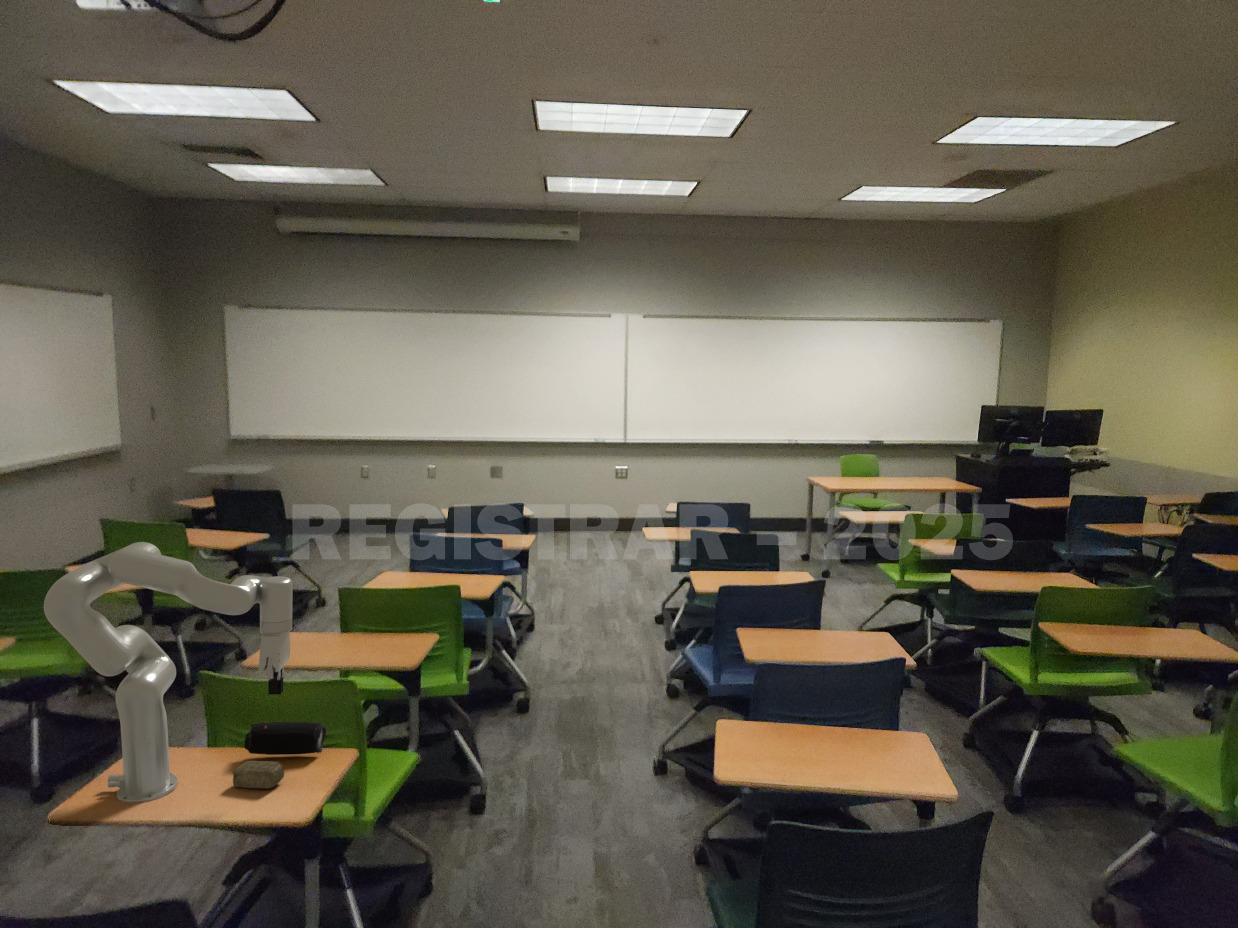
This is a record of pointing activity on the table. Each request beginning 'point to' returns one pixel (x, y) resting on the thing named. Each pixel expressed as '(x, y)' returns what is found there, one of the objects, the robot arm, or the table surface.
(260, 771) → the stone block
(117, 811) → the table surface
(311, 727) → the portable speaker
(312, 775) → the table surface
